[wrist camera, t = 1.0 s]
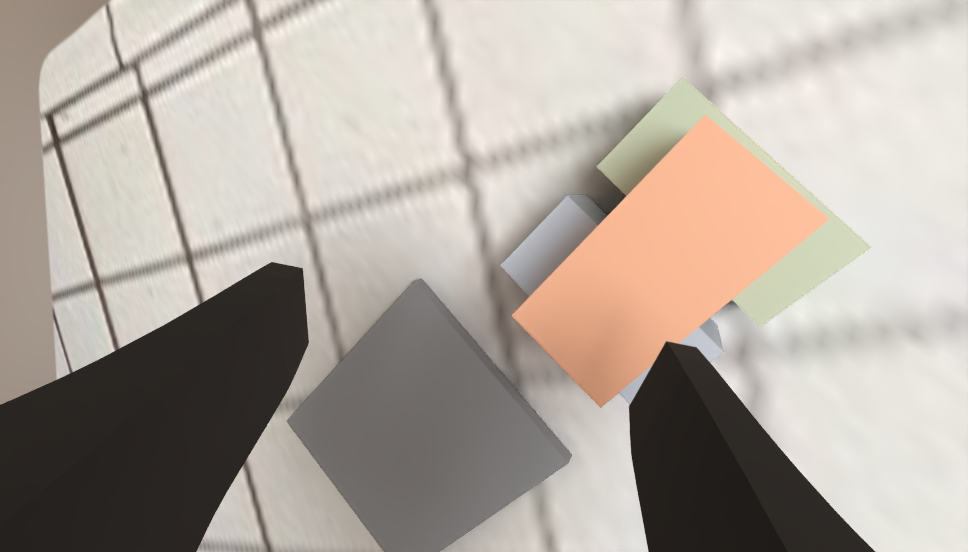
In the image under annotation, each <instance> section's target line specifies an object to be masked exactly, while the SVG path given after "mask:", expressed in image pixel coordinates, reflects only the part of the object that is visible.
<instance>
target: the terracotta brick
mask: <svg viewBox="0 0 968 552" xmlns="http://www.w3.org/2000/svg"><path fill="white" fill-rule="evenodd" d="M828 220H829V218H828V217H827V216H826V215H824V214H823V213H822V212H821V211H820V210H818V209H817V208H816V207H815V206H814V205H812V204H811V203H810V202H809V201H808V200H806V199H805V198H804V197H803V196H802V195H801V194H799V193H798V192H797V191H796V190H795V189H793V188H792V187H791V186H790V185H789V184H787V183H786V182H785V181H784V180H783V179H781V178H780V177H779V176H778V175H777V174H776V173H774V172H773V171H772V170H771V169H770V168H768V167H767V166H766V165H765V164H764V163H762V162H761V161H760V160H759V159H758V158H756V157H755V156H754V155H753V154H752V153H750V152H749V151H748V150H747V149H746V148H745V147H743V146H742V145H741V144H740V143H739V142H737V141H736V140H735V139H734V138H733V137H731V136H730V135H729V134H728V133H727V132H725V131H724V130H723V129H722V128H721V127H720V126H718V125H717V124H716V123H715V122H714V121H712V120H711V119H710V118H709V117H708V116H706V115H704V116H703V117H702V118H701V119H700V120H699V121H698V122H697V124H696V125H695V126H694V127H693V128H692V129H691V130H690V131H689V132H688V133H687V134H686V135H685V136H684V137H683V138H682V139H681V140H680V141H679V142H678V143H677V144H676V145H675V146H674V147H673V148H672V149H671V151H670V152H669V153H668V154H667V155H666V156H665V157H664V158H663V159H662V160H661V161H660V162H659V163H658V164H657V165H656V166H655V167H654V168H653V169H652V170H651V171H650V172H649V173H648V174H647V175H646V176H645V177H644V179H643V180H642V181H641V182H640V183H639V184H638V185H637V186H636V187H635V188H634V189H633V190H632V191H631V192H630V193H629V194H628V195H627V196H626V197H625V198H624V199H623V200H622V201H621V202H620V203H619V204H618V206H617V207H616V208H615V209H614V210H613V211H612V212H611V213H610V214H609V215H608V216H607V217H606V218H605V219H604V220H603V221H602V222H601V223H600V224H599V225H598V226H597V227H596V228H595V229H594V230H593V231H592V233H591V234H590V235H589V236H588V237H587V238H586V239H585V240H584V241H583V242H582V243H581V244H580V245H579V246H578V247H577V248H576V249H575V250H574V251H573V252H572V253H571V254H570V255H569V256H568V257H567V258H566V260H565V261H564V262H563V263H562V264H561V265H560V266H559V267H558V268H557V269H556V270H555V271H554V272H553V273H552V274H551V275H550V276H549V277H548V278H547V279H546V280H545V281H544V282H543V283H542V284H541V285H540V286H539V288H538V289H537V290H536V291H535V292H534V293H533V294H532V295H531V296H530V297H529V298H528V299H527V300H526V301H525V302H524V303H523V304H522V305H521V306H520V307H519V308H518V309H517V310H516V311H515V312H514V313H513V315H512V317H513V318H514V319H515V320H516V321H517V322H518V323H519V324H520V325H521V326H522V327H523V328H524V329H525V330H526V331H527V332H528V333H529V334H530V335H531V336H532V337H533V338H534V340H535V341H536V342H537V343H538V344H539V345H540V346H541V347H542V348H543V349H544V350H545V351H546V352H547V353H548V354H549V355H550V356H551V357H552V358H553V359H554V360H555V361H556V362H557V363H558V364H559V365H560V366H561V367H562V368H563V369H564V370H565V371H566V373H567V374H568V375H569V376H570V377H571V378H572V379H573V380H574V381H575V382H576V383H577V384H578V385H579V386H580V387H581V388H582V389H583V390H584V391H585V392H586V393H587V394H588V395H589V396H590V397H591V398H592V399H593V400H594V401H595V402H596V403H597V405H598V406H599V407H600V408H601V407H602V406H603V405H605V404H606V403H607V402H608V401H609V400H611V399H612V398H613V397H614V396H615V395H617V394H618V393H619V392H620V391H622V390H623V389H624V388H625V387H626V386H628V385H629V384H630V383H631V382H632V381H634V380H635V379H636V378H637V377H639V376H640V375H641V374H642V373H643V372H645V371H646V370H647V369H648V368H649V367H651V366H652V365H653V363H654V362H655V360H656V358H657V356H658V355H659V353H660V351H661V349H662V348H663V346H664V344H665V342H666V341H668V342H673V343H678V344H679V343H680V342H681V341H682V340H683V339H685V338H686V337H687V336H688V335H690V334H691V333H692V332H693V331H694V330H696V329H697V328H698V327H699V326H701V325H702V324H703V323H704V322H705V321H707V320H708V319H709V318H710V317H711V316H713V315H714V314H715V313H716V312H718V311H719V310H720V309H721V308H722V307H724V306H725V305H726V304H727V303H728V302H730V301H731V300H732V299H733V298H735V297H736V296H737V295H738V294H739V293H741V292H742V291H743V290H744V289H745V288H747V287H748V286H749V285H750V284H752V283H753V282H754V281H755V280H756V279H758V278H759V277H760V276H761V275H762V274H764V273H765V272H766V271H767V270H769V269H770V268H771V267H772V266H773V265H775V264H776V263H777V262H778V261H779V260H781V259H782V258H783V257H784V256H786V255H787V254H788V253H789V252H790V251H792V250H793V249H794V248H795V247H797V246H798V245H799V244H800V243H801V242H803V241H804V240H805V239H806V238H807V237H809V236H810V235H811V234H812V233H814V232H815V231H816V230H817V229H818V228H820V227H821V226H822V225H823V224H824V223H826V222H827V221H828Z"/></svg>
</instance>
